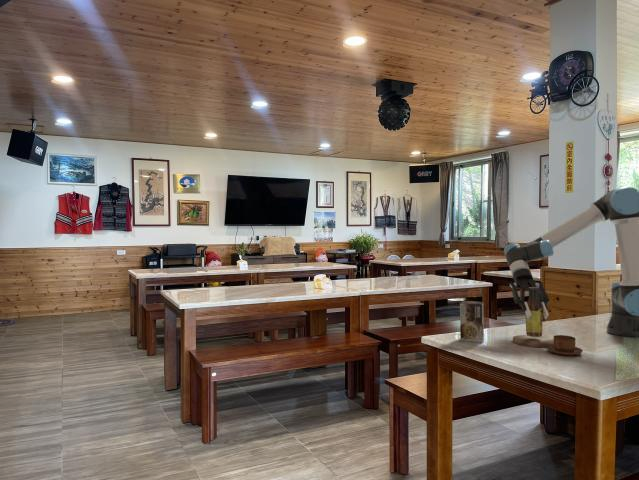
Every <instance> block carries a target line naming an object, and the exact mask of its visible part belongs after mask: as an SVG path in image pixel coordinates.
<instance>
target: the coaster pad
mask: <svg viewBox="0 0 639 480" xmlns="http://www.w3.org/2000/svg"><path fill="white" fill-rule="evenodd" d="M512 342H513V343H514V344H515V345H518V346H519V345H520V346H524V347H530V348H542V349H543V348H546V349H547V346H549V345H554V338H551V337H548V336H543V335H542V336H541V337H531V336H528V335H527V334H521V335H514V336H513V337H512Z"/></svg>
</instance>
